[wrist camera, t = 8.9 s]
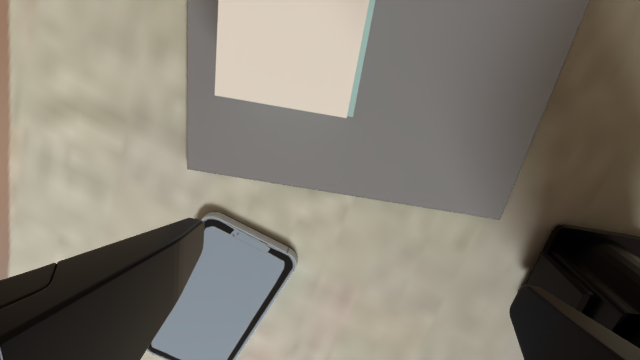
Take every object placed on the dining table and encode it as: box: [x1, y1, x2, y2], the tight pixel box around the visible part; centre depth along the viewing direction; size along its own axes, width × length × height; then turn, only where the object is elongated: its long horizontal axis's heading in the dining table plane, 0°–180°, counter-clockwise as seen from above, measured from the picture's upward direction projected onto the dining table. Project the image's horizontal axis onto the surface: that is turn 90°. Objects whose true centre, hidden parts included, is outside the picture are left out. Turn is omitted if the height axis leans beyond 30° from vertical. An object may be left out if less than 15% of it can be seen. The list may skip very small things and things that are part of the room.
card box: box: [215, 0, 369, 118], centre depth 15 cm, size 9×6×4 cm, turn 171°
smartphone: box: [147, 212, 298, 360], centre depth 25 cm, size 7×1×15 cm
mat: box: [187, 0, 590, 220], centre depth 18 cm, size 20×16×1 cm
